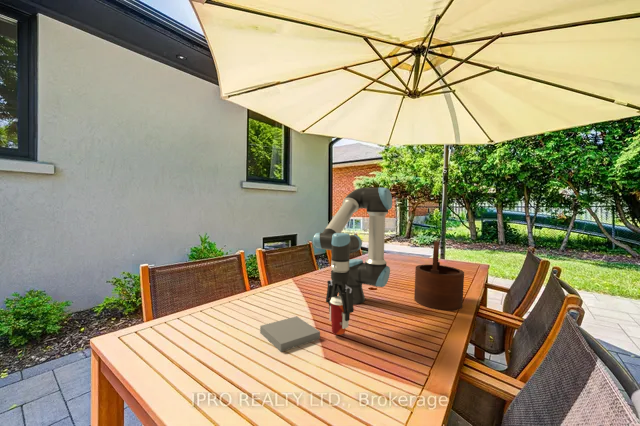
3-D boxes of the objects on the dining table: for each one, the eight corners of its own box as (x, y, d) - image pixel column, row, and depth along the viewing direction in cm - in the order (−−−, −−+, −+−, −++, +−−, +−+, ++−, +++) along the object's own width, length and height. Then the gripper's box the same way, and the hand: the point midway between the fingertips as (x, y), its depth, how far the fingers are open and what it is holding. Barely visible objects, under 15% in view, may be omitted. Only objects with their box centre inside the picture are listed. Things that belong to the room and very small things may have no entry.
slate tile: (260, 332, 116) (260, 325, 116) (296, 322, 127) (296, 316, 127) (280, 352, 102) (280, 344, 101) (319, 338, 112) (320, 331, 112)
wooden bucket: (461, 299, 166) (464, 241, 165) (463, 314, 142) (467, 247, 141) (416, 292, 177) (418, 238, 175) (411, 305, 153) (414, 242, 152)
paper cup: (346, 336, 111) (347, 302, 111) (327, 334, 113) (328, 301, 112) (348, 328, 119) (349, 296, 118) (331, 326, 120) (331, 294, 120)
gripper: (318, 266, 121) (317, 317, 122) (350, 277, 104) (348, 336, 105) (331, 264, 125) (330, 313, 126) (364, 274, 109) (362, 331, 110)
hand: (338, 323), depth 116 cm, fingers closed on paper cup, 8 cm apart
